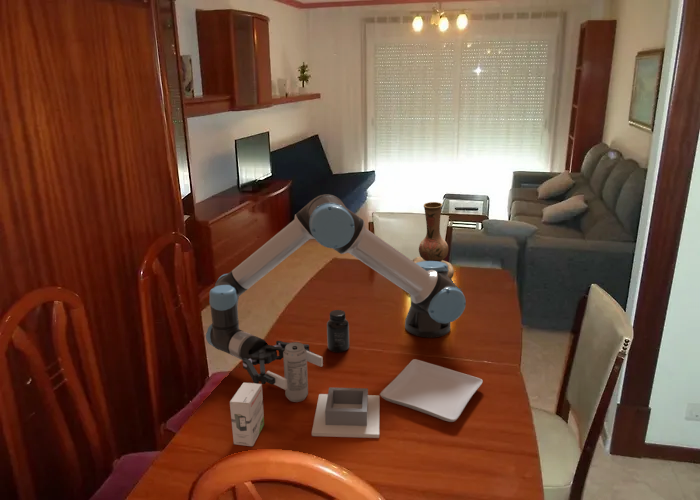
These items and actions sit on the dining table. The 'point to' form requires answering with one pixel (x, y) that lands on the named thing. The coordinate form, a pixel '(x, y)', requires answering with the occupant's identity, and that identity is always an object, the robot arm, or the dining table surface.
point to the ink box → (247, 414)
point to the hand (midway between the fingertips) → (304, 372)
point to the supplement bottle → (338, 331)
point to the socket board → (347, 414)
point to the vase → (433, 238)
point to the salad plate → (432, 390)
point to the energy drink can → (295, 371)
